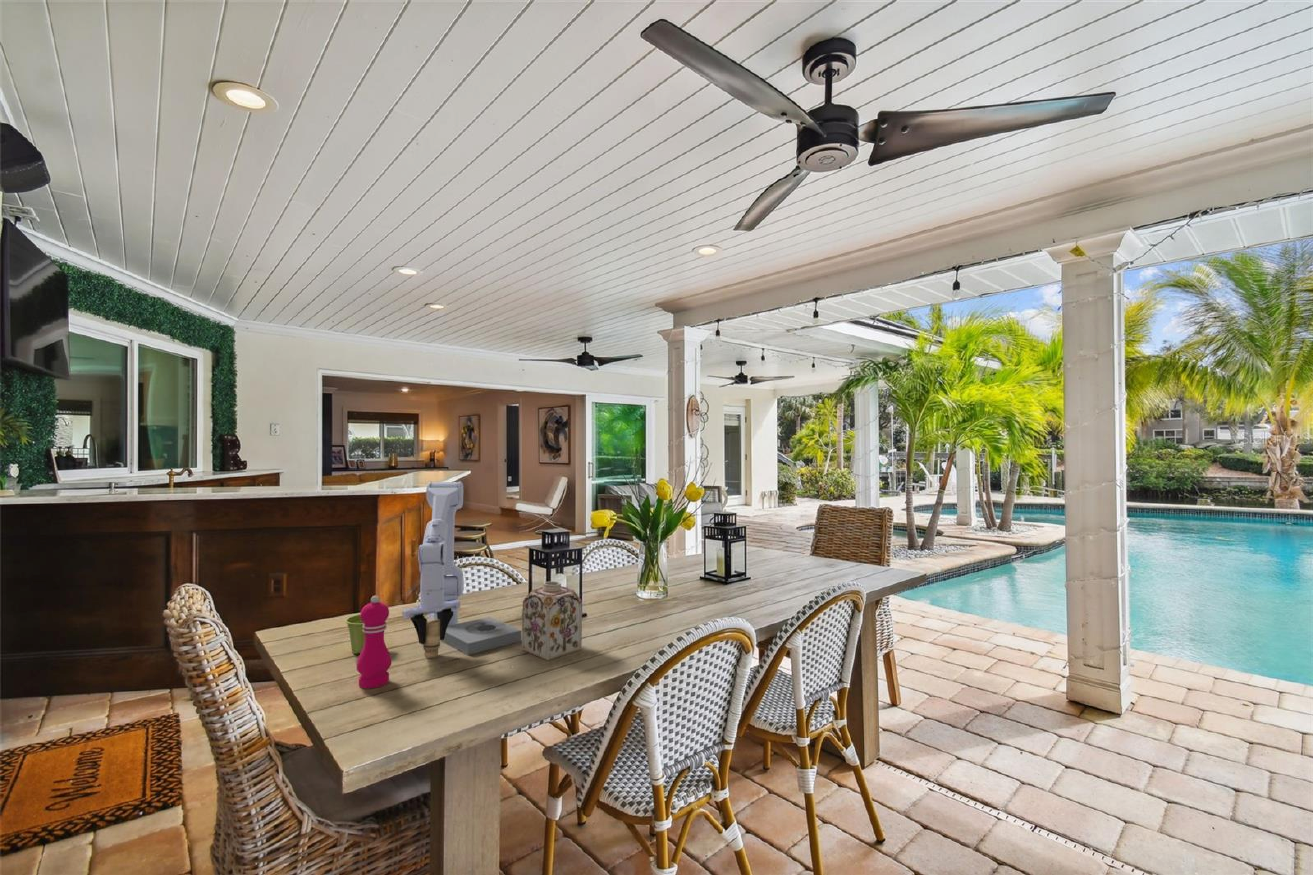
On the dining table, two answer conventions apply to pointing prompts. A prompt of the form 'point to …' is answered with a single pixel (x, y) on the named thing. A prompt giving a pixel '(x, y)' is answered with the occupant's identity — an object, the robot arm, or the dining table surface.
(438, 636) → the oak peg
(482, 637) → the grey peg hole board
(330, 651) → the dining table surface
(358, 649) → the plant pot
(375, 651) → the pepper mill
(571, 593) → the decorative jar
